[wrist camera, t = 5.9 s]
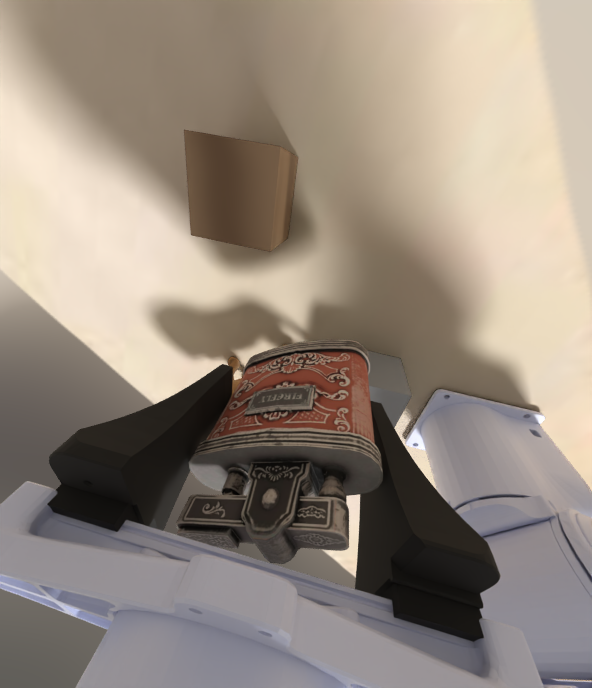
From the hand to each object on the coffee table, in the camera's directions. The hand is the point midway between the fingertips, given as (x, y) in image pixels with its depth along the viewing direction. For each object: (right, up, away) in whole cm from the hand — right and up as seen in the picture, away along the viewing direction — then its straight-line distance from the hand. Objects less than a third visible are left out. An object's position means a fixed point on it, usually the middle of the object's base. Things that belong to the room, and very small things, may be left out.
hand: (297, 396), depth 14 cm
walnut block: (-3, +13, +4) cm, 14 cm away
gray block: (+7, 0, +10) cm, 12 cm away
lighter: (+1, +2, +3) cm, 3 cm away
